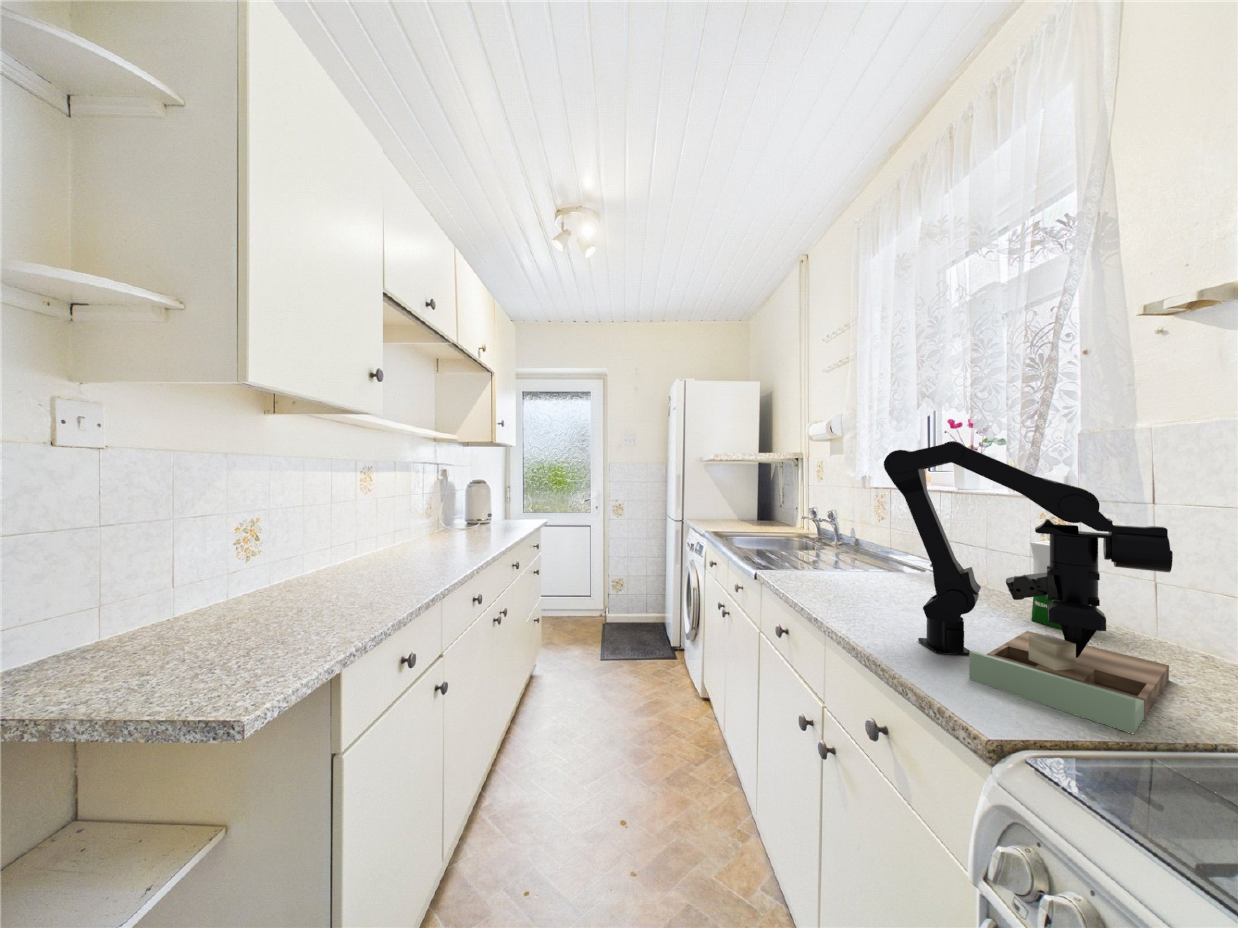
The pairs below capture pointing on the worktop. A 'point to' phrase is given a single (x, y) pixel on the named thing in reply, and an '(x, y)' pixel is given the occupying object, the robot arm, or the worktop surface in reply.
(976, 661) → the pad
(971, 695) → the worktop surface
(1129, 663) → the trap board
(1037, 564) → the milk carton
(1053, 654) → the maple block
